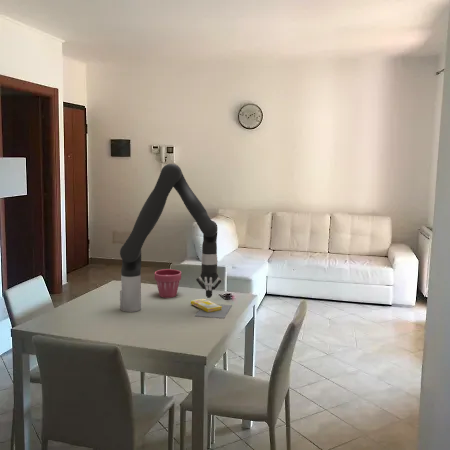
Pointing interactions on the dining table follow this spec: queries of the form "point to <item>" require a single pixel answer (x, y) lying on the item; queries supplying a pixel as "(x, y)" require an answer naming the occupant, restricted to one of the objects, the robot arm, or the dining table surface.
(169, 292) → the plant pot
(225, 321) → the dining table surface
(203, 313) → the mat
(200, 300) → the candy box
